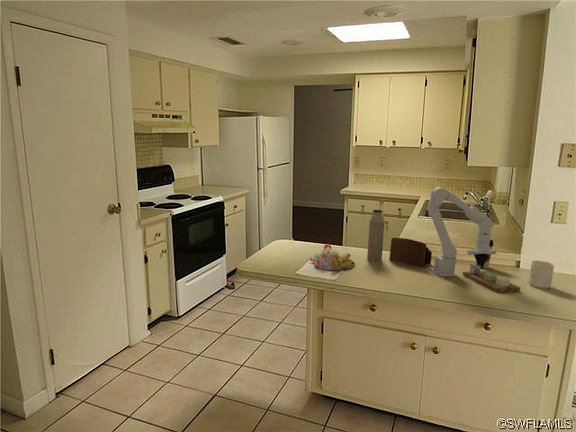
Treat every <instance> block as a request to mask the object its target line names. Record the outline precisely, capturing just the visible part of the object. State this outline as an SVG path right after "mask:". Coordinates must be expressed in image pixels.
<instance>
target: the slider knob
mask: <svg viewBox="0 0 576 432" xmlns="http://www.w3.org/2000/svg"><path fill="white" fill-rule="evenodd" d="M480 268H481V266H479V265H477V264H476V263H472V264H471V263H470V267H469V270H470V271H469V272H471V273H473V274H480V271H481V269H480Z"/></svg>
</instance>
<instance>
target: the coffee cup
mask: <svg viewBox="0 0 576 432" xmlns="http://www.w3.org/2000/svg"><path fill="white" fill-rule="evenodd" d="M493 247H494V240H493V239H490V244H489V250H493ZM487 255H489V258H488V259H487V261H486V262H485V264H484V266H483V269H488V268H489V265H490V261H491V255H492V254H487ZM475 264H477V262H476V261H475Z"/></svg>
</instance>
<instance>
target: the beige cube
mask: <svg viewBox="0 0 576 432" xmlns="http://www.w3.org/2000/svg"><path fill="white" fill-rule="evenodd" d="M510 283H511V279H510V278H508V277H505V276H497V277H496V283H495V284H497V285H499V286H501V287H509V286H510Z"/></svg>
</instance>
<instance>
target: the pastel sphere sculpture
mask: <svg viewBox="0 0 576 432" xmlns="http://www.w3.org/2000/svg"><path fill="white" fill-rule="evenodd" d="M351 256H352V255H351V253H349V252H345V253H343V254H341V255H340V252H339V251H336V250H334V249H333V248H332V246H331V244H329V243H326V244H324V246H323V249H322V251H321V252H320V253H315V254H314V255H313V257H310V258H309V261H311V262H313V263H314V264H313V265H315V266H314V268H317V267H319V268H318V269H320V270H321V269H322V270H326V271H327V270H328V271H329V270H330V271H341V270H344V269H345V270H346V269H347V270H348V269H352V268H354V266H356V263H355V262H354V260H352V259H351V258H350V257H351Z"/></svg>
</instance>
